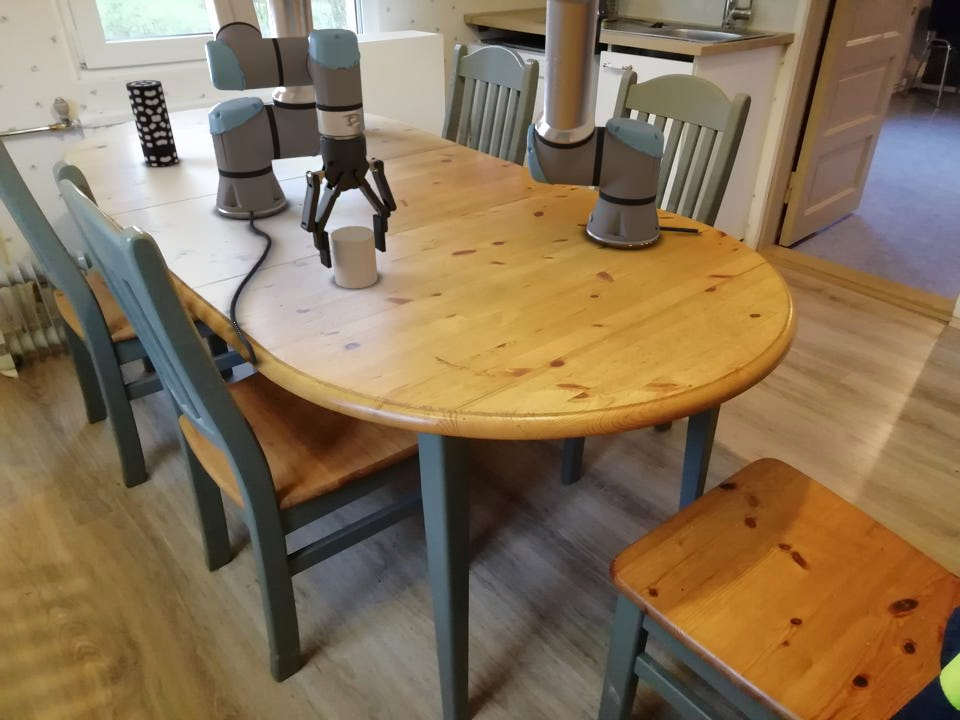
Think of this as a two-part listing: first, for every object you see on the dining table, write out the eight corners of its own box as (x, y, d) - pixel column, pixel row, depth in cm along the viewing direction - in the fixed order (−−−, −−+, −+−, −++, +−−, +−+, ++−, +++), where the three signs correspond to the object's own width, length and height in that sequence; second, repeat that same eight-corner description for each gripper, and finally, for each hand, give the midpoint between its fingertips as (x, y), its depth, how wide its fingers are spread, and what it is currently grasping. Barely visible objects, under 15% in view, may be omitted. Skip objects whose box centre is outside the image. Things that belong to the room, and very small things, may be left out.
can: (358, 292, 123) (353, 245, 118) (326, 281, 127) (321, 235, 122) (386, 277, 129) (382, 231, 124) (355, 266, 132) (350, 222, 127)
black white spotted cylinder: (184, 157, 190) (167, 80, 179) (169, 166, 183) (151, 87, 172) (155, 156, 190) (136, 79, 179) (139, 165, 183) (119, 86, 172)
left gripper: (287, 150, 105) (305, 281, 117) (413, 127, 117) (418, 248, 129) (266, 140, 110) (286, 266, 122) (389, 119, 122) (396, 236, 134)
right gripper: (543, -62, 155) (537, 41, 166) (600, -58, 135) (590, 58, 147) (572, -62, 157) (565, 40, 169) (633, -58, 138) (620, 56, 149)
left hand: (354, 257), depth 125 cm, fingers open, 10 cm apart
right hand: (576, 49), depth 158 cm, fingers open, 13 cm apart
